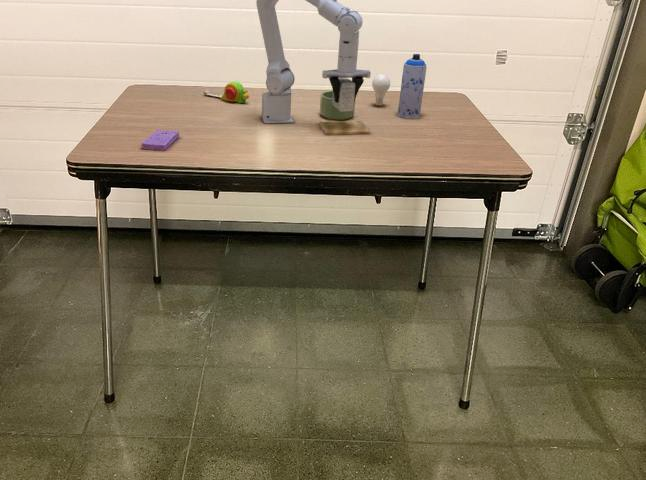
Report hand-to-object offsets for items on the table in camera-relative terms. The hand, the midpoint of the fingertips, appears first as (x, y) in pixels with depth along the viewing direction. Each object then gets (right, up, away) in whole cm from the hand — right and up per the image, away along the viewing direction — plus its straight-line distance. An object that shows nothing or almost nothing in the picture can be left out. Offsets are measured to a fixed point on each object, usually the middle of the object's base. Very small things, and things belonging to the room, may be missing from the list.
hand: (344, 101), depth 189 cm
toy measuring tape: (-39, +9, +31) cm, 51 cm away
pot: (-1, 0, +17) cm, 17 cm away
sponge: (-55, -15, -11) cm, 58 cm away
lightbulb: (+15, +6, +29) cm, 33 cm away
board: (0, -7, +5) cm, 9 cm away
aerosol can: (+24, +1, +20) cm, 31 cm away
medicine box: (0, -2, +2) cm, 3 cm away
